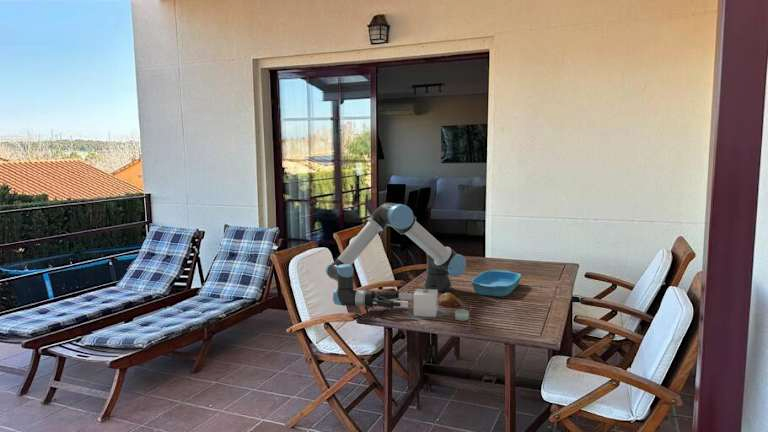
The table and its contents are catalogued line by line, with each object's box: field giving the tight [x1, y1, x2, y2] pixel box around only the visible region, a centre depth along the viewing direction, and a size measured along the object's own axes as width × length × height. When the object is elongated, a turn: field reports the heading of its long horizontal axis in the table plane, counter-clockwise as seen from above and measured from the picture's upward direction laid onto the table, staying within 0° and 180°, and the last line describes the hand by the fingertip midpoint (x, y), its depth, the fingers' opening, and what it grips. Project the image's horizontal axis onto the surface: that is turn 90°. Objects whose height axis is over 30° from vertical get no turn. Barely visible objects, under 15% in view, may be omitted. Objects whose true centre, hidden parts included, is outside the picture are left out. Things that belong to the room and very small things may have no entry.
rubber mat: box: [402, 307, 451, 321], centre depth 236 cm, size 18×14×1 cm
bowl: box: [454, 308, 470, 322], centre depth 227 cm, size 6×6×4 cm
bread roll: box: [438, 292, 461, 308], centre depth 250 cm, size 10×10×8 cm
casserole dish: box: [471, 270, 522, 297], centre depth 279 cm, size 37×22×7 cm, turn 152°
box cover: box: [413, 288, 439, 318], centre depth 236 cm, size 10×10×11 cm
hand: (410, 300), depth 237 cm, fingers open, 13 cm apart
